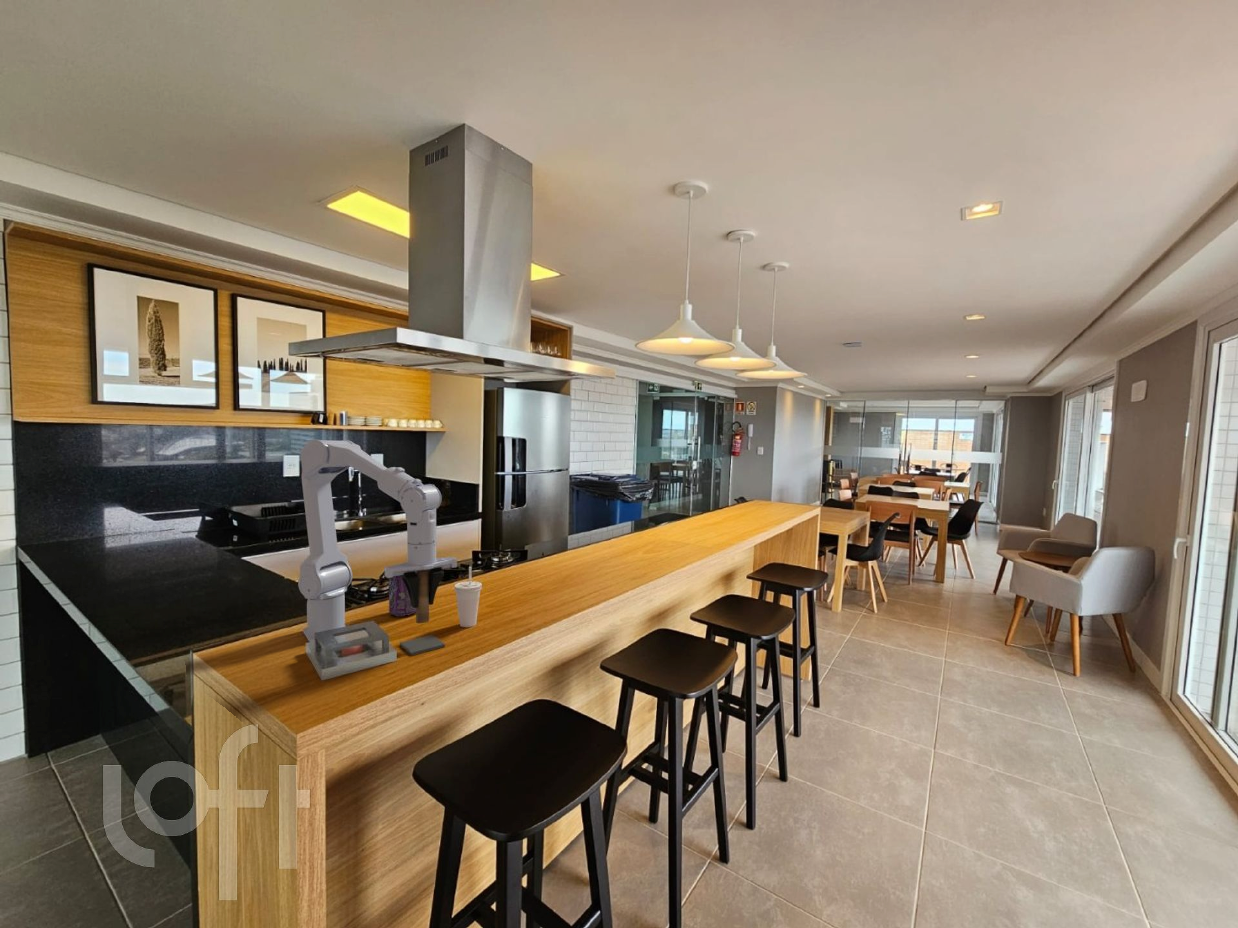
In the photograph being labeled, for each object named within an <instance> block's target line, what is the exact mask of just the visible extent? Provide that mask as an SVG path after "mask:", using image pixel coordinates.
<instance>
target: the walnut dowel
mask: <svg viewBox="0 0 1238 928" xmlns="http://www.w3.org/2000/svg"><path fill="white" fill-rule="evenodd" d="M416 572H417V573H416V574H417V577H419V578H420V580H419V586H418V608H416V612H415V622H416V623H417V624H425V623H429V621H430V605H429V569H428V570H422V571H416Z"/></svg>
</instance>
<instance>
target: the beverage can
mask: <svg viewBox="0 0 1238 928" xmlns="http://www.w3.org/2000/svg"><path fill="white" fill-rule="evenodd" d="M388 601H389V602H388V612H389V615H393V616H395V617H406V616H405V615H408V616H411V614H412V615H414V614H416V608H414V607H412V606H411V601H410V597H409V594H408V591H407V588H406V586H405V584H404V582H403V580H402V579H401V577H400V575H398V576H393V577H391V578H388ZM413 613H414V614H413Z"/></svg>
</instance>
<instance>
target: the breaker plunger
mask: <svg viewBox="0 0 1238 928" xmlns="http://www.w3.org/2000/svg"><path fill="white" fill-rule="evenodd" d="M362 652H363V651H362V645H359V646H355V647H350V648H346V649H342V656H341V658H342V657H346V656H350V655H354V654H358V653H362Z"/></svg>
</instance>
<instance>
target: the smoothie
mask: <svg viewBox="0 0 1238 928" xmlns="http://www.w3.org/2000/svg"><path fill="white" fill-rule="evenodd" d="M482 585H483V584H482V582H479V581H472V566H469V567H468V581H461V582H458V583H455V584H454V588H453V590H454V591H455V596H456V604H457V611H458V619H459V626H460V627H462V628H470V627H474V626H476V625H477V620H478V612H479V604H480V603H479V602H480V595H481V590H482V588H483V587H482Z"/></svg>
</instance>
